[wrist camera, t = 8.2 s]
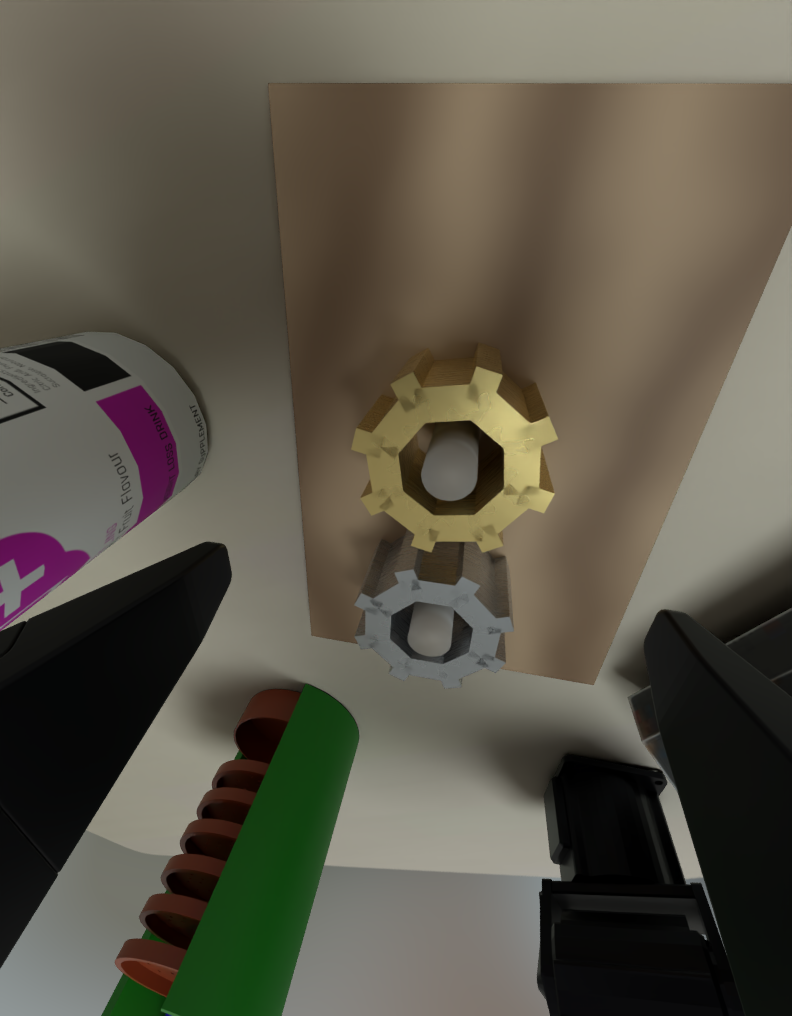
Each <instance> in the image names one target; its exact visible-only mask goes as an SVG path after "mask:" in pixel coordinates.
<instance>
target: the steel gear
mask: <svg viewBox="0 0 792 1016" xmlns="http://www.w3.org/2000/svg"><path fill="white" fill-rule="evenodd" d="M413 536H414V533H412V532H411V531H410V530H408V529H407V531H406V534H405V535H403V536H402V537H400V538H399V539H397V540H396V541H394V542H393V543H389V542H387V541H385V540H383V539H381V540H380V542H379V544H378V546H377V547H376V549H375V551H374V554H373V557H372V559H371V562H370V565H369V567H368V570H367V573H366V575H365V578H364V580H363V583H362V586H361V588H360V591H359V594H358V596H357V599H356V602H355V604H354V605H355V606H357V607H359V608H361V609H363V613H362V616H361V619H360V622H359V625H358V627H357V630H356V633H355V636H354V637H355V639H356V641H357V643H358V644H359V646H360V648H361V649H368V648H372V649H373V650H375V651H376V652H377V653H378V654H379V655H380V656H381V657H382V658H384V659H385V660H386V661H387V662H388V663H389V664H390V665H391V666H390V671H389V674H390V675H392V676H394V677H396V678H399V679H401V680H403V681H405V679H406V678H407V677H408V676H409V675H413V676H418V677H424V678H429V679H435V680H440V681H441V682H442V684H443V687H444V689H445V688H457V687H461V685H462V677H465V676H467V675H469V674H472V673H474V672H476V671H479V670H481V669H483V668H486V669H488V670H490V671H492V672H495V673H496V672H497V671H498V670H499V669H500V668H501V667H502V666H503V665H504V664H505V663H506V653H505V632H513V631H514V623H513V609H512V595H511V582H510V569H509V566H508V562H507V559H506V556H504V557H498V558H494V557H493V556H492V555H491V554H490V553H489V552H488V551H486V552H483V553H482V551H481V549H480V547H479V546H478V544H477V542H435V545H434V547H433V550H432V552H428V551H425V550H422V549H419V548H416V547H413V546H411V543H412V540H413ZM416 601H418V602H424V603H431V604H437V605H443V606H449V607H452V608H453V609H454V617H453V628H452V639H451V647H450V649H449V650H448V651H447V652H446V653H445V654H443V655H440V656H435V657H430V656H424V655H421V654H419V653H417V652H416V651H414V650H413V649H412V648H411V647H410V645H409V643H408V633H409V628H410V624H411V619H412V614H413V609H414V604H415V602H416Z"/></svg>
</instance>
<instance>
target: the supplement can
mask: <svg viewBox="0 0 792 1016" xmlns="http://www.w3.org/2000/svg"><path fill="white" fill-rule="evenodd" d="M207 454H208V444H207V429H206V423H205V421H204V418H203V416H202V413H201V411H200V408H199V406H198V403H197V401H196V398H195V395H194V394H193V393H192V391H191V390H190V389H189V387H188V386H187V385H186V383H185V382H184V381H183V379H182V378H181V377H180V375H179V374H178V373H177V371H176V370H175V369H174V367H172V366H171V365H170V364H169V363H167V362H166V361H165V360H164V359H162V358H161V357H160V356H159V355H157V354H156V353H155V352H154V351H152V350H151V349H150V348H149V347H147V346H146V345H144V344H142V343H139V342H137V341H135V340H132V339H130V338H127V337H125V336H122V335H120V334H118V333H113V332H83V333H78V334H73V335H68V336H63V337H57V338H52V339H47V340H42V341H37V342H31V343H26V344H21V345H16V346H11V347H5V348H0V631H1V630H2V629H3V628H5V627H6V626H7V625H9V624H10V623H11V622H13V621H14V620H15V619H16V618H18V617H19V616H20V615H22V614H23V613H24V612H25V611H27V610H28V609H29V608H31V607H32V606H33V605H35V604H36V603H37V602H38V601H40V600H41V599H42V598H44V597H45V596H46V595H47V594H49V593H50V592H51V591H53V590H54V589H55V588H57V587H58V586H59V585H60V584H62V583H63V582H64V581H66V580H67V579H68V578H69V577H71V576H72V575H73V574H75V573H76V572H77V571H78V570H80V569H81V568H82V567H84V566H85V565H86V564H88V563H89V562H90V561H91V560H93V559H94V558H95V557H97V556H98V555H99V554H100V553H102V552H103V551H104V550H106V549H107V548H108V547H110V546H111V545H112V544H113V543H115V542H116V541H117V540H119V539H120V538H121V537H122V536H124V535H125V534H126V533H128V532H129V531H130V530H132V529H133V528H134V527H135V526H137V525H138V524H139V523H141V522H142V521H143V520H144V519H146V518H147V517H148V516H150V515H151V514H152V513H153V512H155V511H156V510H157V509H159V508H160V507H161V506H163V505H164V504H165V503H166V502H168V501H169V500H170V499H172V498H173V497H174V496H175V495H177V494H178V493H179V492H181V491H182V490H183V489H185V488H186V487H187V486H188V485H189V484H190V483H191V482H192V481H193V480H194V479H195V478H196V477H197V476H198V475H200V474H201V471H202V468H203V465H204V462H205V459H206V456H207Z"/></svg>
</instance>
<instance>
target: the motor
mask: <svg viewBox="0 0 792 1016" xmlns="http://www.w3.org/2000/svg"><path fill="white" fill-rule="evenodd" d="M234 740H235V743H236V745H237V747H238V749H239V751H238V753H237V755H236V757H235V759H234V760H231V761H228V762H226V763H224V764H222V765H221V766H220V767H219V769H218V771H217V773H216V775H215V777H214V778H213V781H212V788H213V789H212V790H210V791H208V792H207V793H206V794H205V795H204V797H203V799H202V801H201V802H200V804H199V806H198V808H197V816H198V819H199V820H195V821H193V822H191V823H190V824H189V825H188V827H187V828H186V830H185V832H184V834H183V836H182V838H181V840H180V847H181V849H182V851H183V853H184V854H180V855H176V856H173V857H172V858H171V859H170V860H169V862H168V864H167V865H166V867H165V869H164V871H163V873H162V875H161V881H162V884H163V885H164V887H165V888H166V889H167V890H166V892H165V894H155V895H152V896H151V897H150V898H149V899H148V901H147V902H146V904H145V906H144V908H143V910H142V912H141V914H140V916H139V918H140V921H141V923H142V924H143V926H144V927H145V928H146V931H145V933H144V934H143V936H142V938H141V939H129V940H127V941H126V942H125V943H124V945H123V947H122V949H121V951H120V953H119V954H118V956H117V958H116V960H115V965H116V966H117V968H118V969H119V970H120V971H121V972H123V975H122V977H121V979H120V981H119V983H118V985H117V987H116V989H115V990H114V992H113V994H112V996H111V998H110V1000H109V1002H108V1004H107V1006H106V1008H105V1010H104V1012H103V1013H102V1015H101V1016H282V1012H283V1008H284V1005H285V1001H286V998H287V994H288V991H289V987H290V984H291V980H292V976H293V973H294V969H295V966H296V962H297V959H298V955H299V952H300V948H301V945H302V941H303V937H304V934H305V930H306V926H307V923H308V919H309V916H310V913H311V909H312V905H313V902H314V898H315V895H316V891H317V888H318V884H319V880H320V877H321V873H322V869H323V866H324V863H325V859H326V856H327V852H328V848H329V845H330V841H331V838H332V834H333V831H334V827H335V824H336V820H337V816H338V813H339V809H340V806H341V802H342V799H343V795H344V792H345V788H346V784H347V781H348V777H349V774H350V770H351V767H352V763H353V759H354V756H355V752H356V749H357V745H358V742H359V732H358V728H357V725H356V723H355V721H354V719H353V718H352V716H351V715H350V713H349V712H348V711H347V710H346V709H345V708H344V707H343V706H342V705H341V704H340V703H339V702H338V701H336V700H335V699H334V698H332V697H331V696H329V695H328V694H326V693H324V692H323V691H321V690H319V689H317V688H315V687H313V686H310V685H308V684H305V686H304V688H303V691H302V693H299V692H295V691H291V690H284V689H271V690H265V691H262V692H260V693H258V694H256V695H255V696H254V697H253V698H252V699H251V701H250V702H249V704H248V706H247V708H246V710H245V712H244V713H243V715H242V717H241V719H240V721H239V722H238V724H237V726H236V728H235V730H234Z"/></svg>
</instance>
